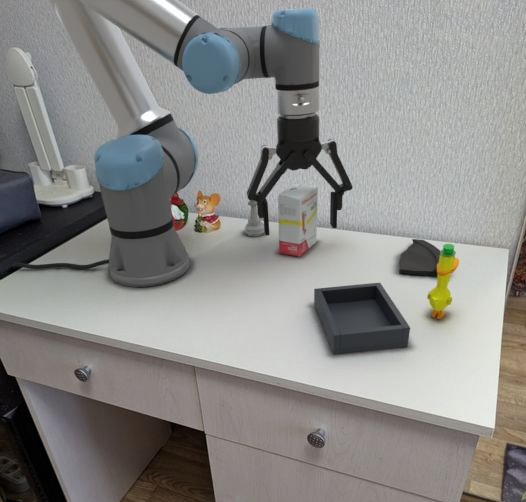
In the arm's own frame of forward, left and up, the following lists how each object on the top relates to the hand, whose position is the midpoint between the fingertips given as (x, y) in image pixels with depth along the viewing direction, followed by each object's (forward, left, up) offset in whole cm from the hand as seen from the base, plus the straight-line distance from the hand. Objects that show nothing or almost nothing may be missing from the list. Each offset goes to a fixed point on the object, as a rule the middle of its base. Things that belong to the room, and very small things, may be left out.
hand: (300, 229), depth 99 cm
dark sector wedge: (+22, -12, -4) cm, 25 cm away
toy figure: (+17, -30, -4) cm, 35 cm away
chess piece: (-8, +10, -4) cm, 14 cm away
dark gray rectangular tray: (+4, -31, -4) cm, 31 cm away
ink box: (0, 0, -4) cm, 4 cm away
